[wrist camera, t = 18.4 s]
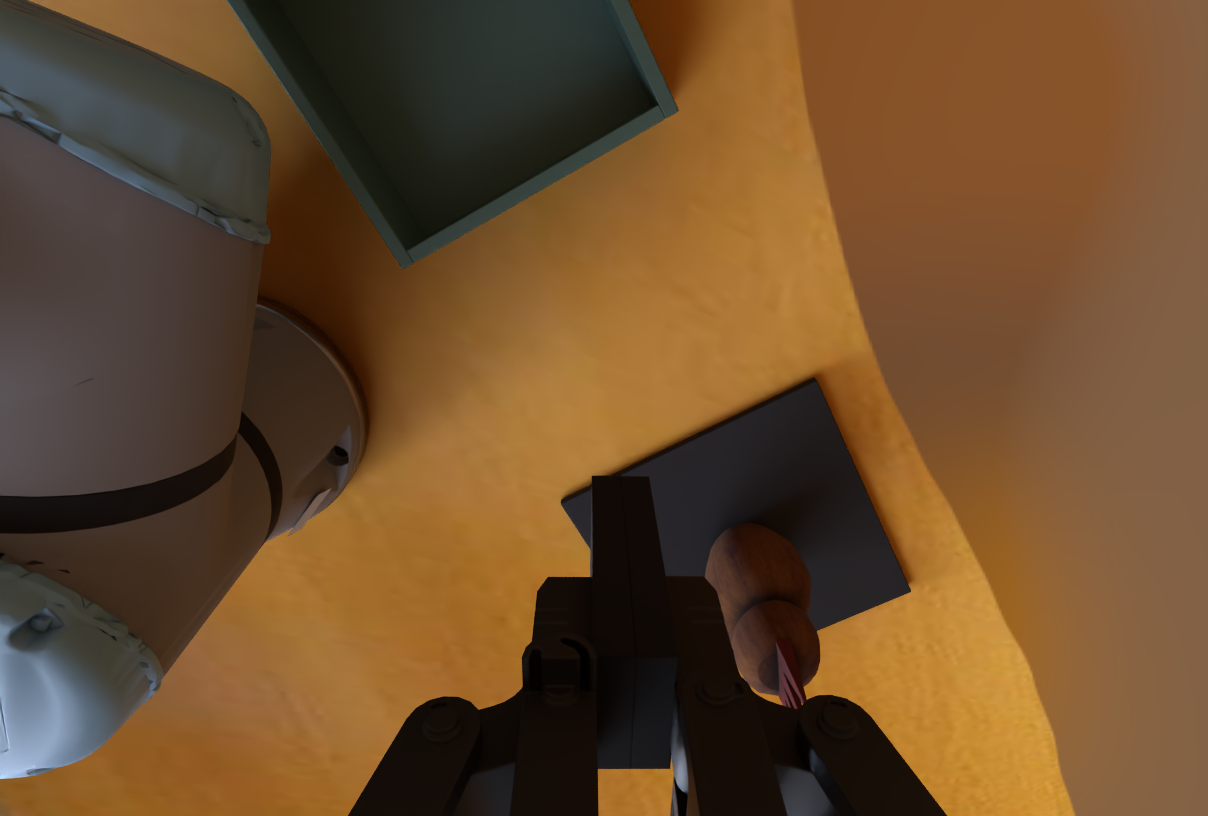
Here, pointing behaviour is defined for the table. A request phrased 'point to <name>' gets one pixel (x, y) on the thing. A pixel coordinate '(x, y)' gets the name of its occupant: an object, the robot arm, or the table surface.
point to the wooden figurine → (766, 610)
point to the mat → (771, 501)
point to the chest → (458, 99)
